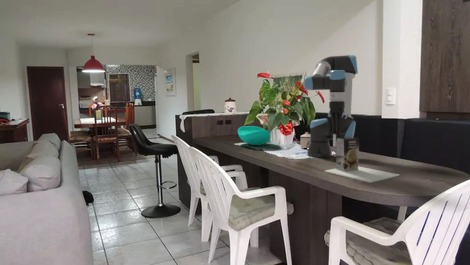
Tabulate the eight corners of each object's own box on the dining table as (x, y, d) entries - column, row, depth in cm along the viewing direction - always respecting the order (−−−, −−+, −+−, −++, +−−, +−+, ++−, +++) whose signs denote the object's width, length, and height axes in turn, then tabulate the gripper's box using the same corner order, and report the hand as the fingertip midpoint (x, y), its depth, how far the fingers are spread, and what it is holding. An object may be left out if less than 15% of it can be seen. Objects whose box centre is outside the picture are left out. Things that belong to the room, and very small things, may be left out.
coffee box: (344, 171, 161) (345, 139, 160) (335, 169, 167) (336, 137, 165) (358, 169, 165) (359, 138, 163) (349, 167, 171) (350, 136, 169)
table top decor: (231, 143, 270) (230, 126, 268) (261, 140, 280) (261, 125, 279) (251, 150, 233) (251, 131, 232) (285, 147, 244) (285, 129, 242)
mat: (324, 171, 164) (324, 170, 164) (352, 166, 176) (352, 165, 176) (370, 182, 143) (370, 181, 143) (399, 175, 154) (399, 174, 154)
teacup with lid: (307, 150, 231) (307, 133, 230) (297, 148, 238) (297, 132, 237) (318, 148, 238) (318, 132, 237) (308, 146, 245) (308, 131, 244)
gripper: (322, 100, 172) (321, 145, 174) (342, 101, 161) (341, 148, 163) (332, 100, 176) (331, 144, 178) (352, 100, 165) (351, 147, 167)
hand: (335, 146), depth 171 cm, fingers closed
